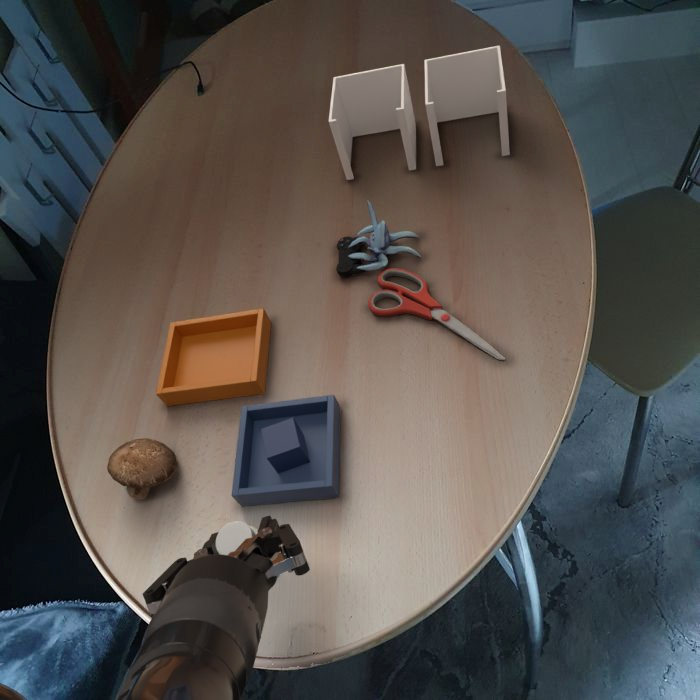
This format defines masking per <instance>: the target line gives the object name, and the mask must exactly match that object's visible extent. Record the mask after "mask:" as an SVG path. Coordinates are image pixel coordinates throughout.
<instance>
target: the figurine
mask: <svg viewBox="0 0 700 700" xmlns="http://www.w3.org/2000/svg"><path fill="white" fill-rule="evenodd" d="M366 203H367V207H368V208H367V209H368V213H369V216H370V221H371V224H370V225H368V226H365V227H364V228H362V229H361V230H360V231H358V233H356V236H354V237H352V236H343V237H341V238H340V239H339V240H338V241H337V242H336V243H337V244H336V248H337V250H338V263H337V265H336V268H335V269H336V272H337V274H338V275H339V276H340V278H343V279H345V278H351V277H352V276H353V275H361V274H364V273H365V272H367V271H369V272H371V271H378V270H383V269H386V268H387V267H388V265H389V260H388V256H395V255H397V254H400V253H407V254H410V255H412V256H414V257H418V258H420V259H421V258H422V256H421V254H419V253H418V252H417V251H416V249H414V248H412V247H409V246H408V245H407V246H405V245H395V246H394V245H391V243H394V242H396V241H398V240H401V239H405V238H406V239H416V238H420V236H419V235H418V234H416V233H415V232H414V231H410V230H403V231H397V232H393V233H392V232H390V231H389V227H388V225H387V224H386V221H385V220H381V221H379V222H378V218H377V215H376V212H375V209H374V207H373V204H372V203H371V201H369V199H367V200H366ZM369 233H370V236H369V237H367V236H365V235H366V234H369ZM362 235H364V236H362ZM364 243H365V244H366V246H367V250H368V251H369V253H370V254H372V255H370V254H368V253H366V252H363V250H362V247H361V245H363V244H364ZM363 261H365V262H367V263H368V264H364V265H363Z"/></svg>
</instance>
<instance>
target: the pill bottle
mask: <svg viewBox="0 0 700 700" xmlns="http://www.w3.org/2000/svg"><path fill="white" fill-rule="evenodd" d="M257 531H258V528H257V527H255V526H250V525H248V524H247V523H246V522H244V521H241V520H234V521H230V522H228V523H226V524H225V525H223V527H221V529H220V530H219V531H218V532H219V533H218V535H217V537H216V549H217V551H218V553H219V554H222V555H228V554H229V553H230V552H233V551H235V550H236V549H237V548H238V547H239V546H240V545H241V544H242V542H243V541H244V540H245V539H246V538H251V537H254V536H255V535H256V534H257V533H258V532H257ZM280 575H281V574H280ZM280 575H278V576H277V580H278V579H279V578H280Z"/></svg>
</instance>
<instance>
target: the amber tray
mask: <svg viewBox="0 0 700 700" xmlns="http://www.w3.org/2000/svg"><path fill="white" fill-rule="evenodd" d="M271 330H272V321H271V319H270V317H269V315H268V313H267V311H266V309H265V308H264V307H263V308H256V309H255V308H254V309H249V310H243V311H237V312H236V311H235V312H230V313H224V314H216V315H210V316H205V317H197V318H191V319H185V320H178V321H172V322H170V323H169V328H168V333H167V338H166V343H165V346H164V347H165V348H164V352H163V358H162V362H161V366H160V372H159V377H158V382H157V387H156V391H155V395H156V397H158V398H159V399H160V400H161V401H162V403H163V404H164V405H165V406H166V407H170V406H178V405H186V404H193V403H202V402H211V401H217V400H218V401H219V400H224V399H233V398H240V397H241V398H242V397H248V396H256V395H264V394H266V393H265V392H266V384H267V383H266V382H267V371H268V363H269V362H268V361H269V351H270V341H271Z"/></svg>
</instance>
